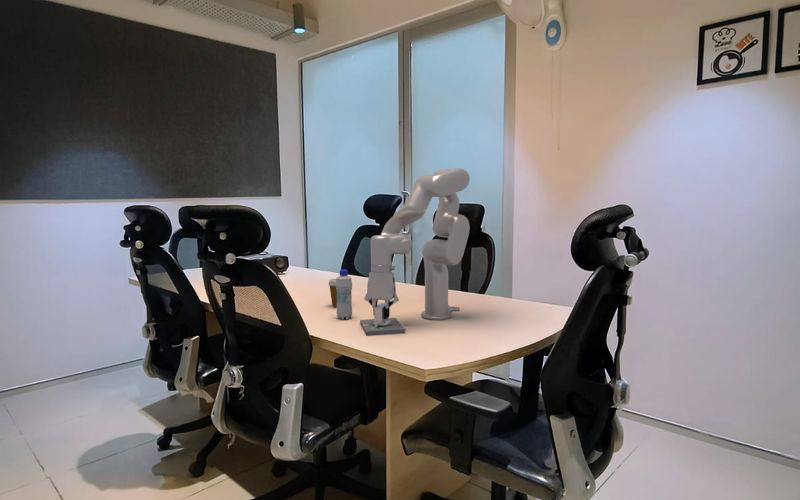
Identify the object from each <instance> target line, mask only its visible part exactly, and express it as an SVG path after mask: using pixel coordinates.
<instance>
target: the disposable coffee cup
mask: <svg viewBox="0 0 800 500" xmlns="http://www.w3.org/2000/svg"><path fill="white" fill-rule="evenodd" d="M328 286H329V290H330V291H329V292H330V298H331V305H332V308H334V309H335V308H336V309H337V290H336V278H332V279H329V281H328Z"/></svg>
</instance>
